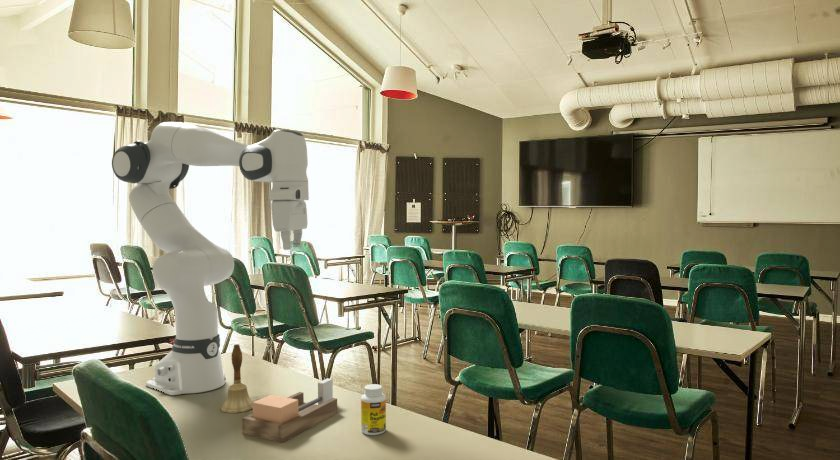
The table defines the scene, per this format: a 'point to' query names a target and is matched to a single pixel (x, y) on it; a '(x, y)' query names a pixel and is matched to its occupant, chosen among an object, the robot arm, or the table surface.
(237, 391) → the hand bell
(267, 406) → the pull block
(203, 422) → the table surface
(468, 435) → the table surface
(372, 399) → the supplement bottle
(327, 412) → the shelf lane
